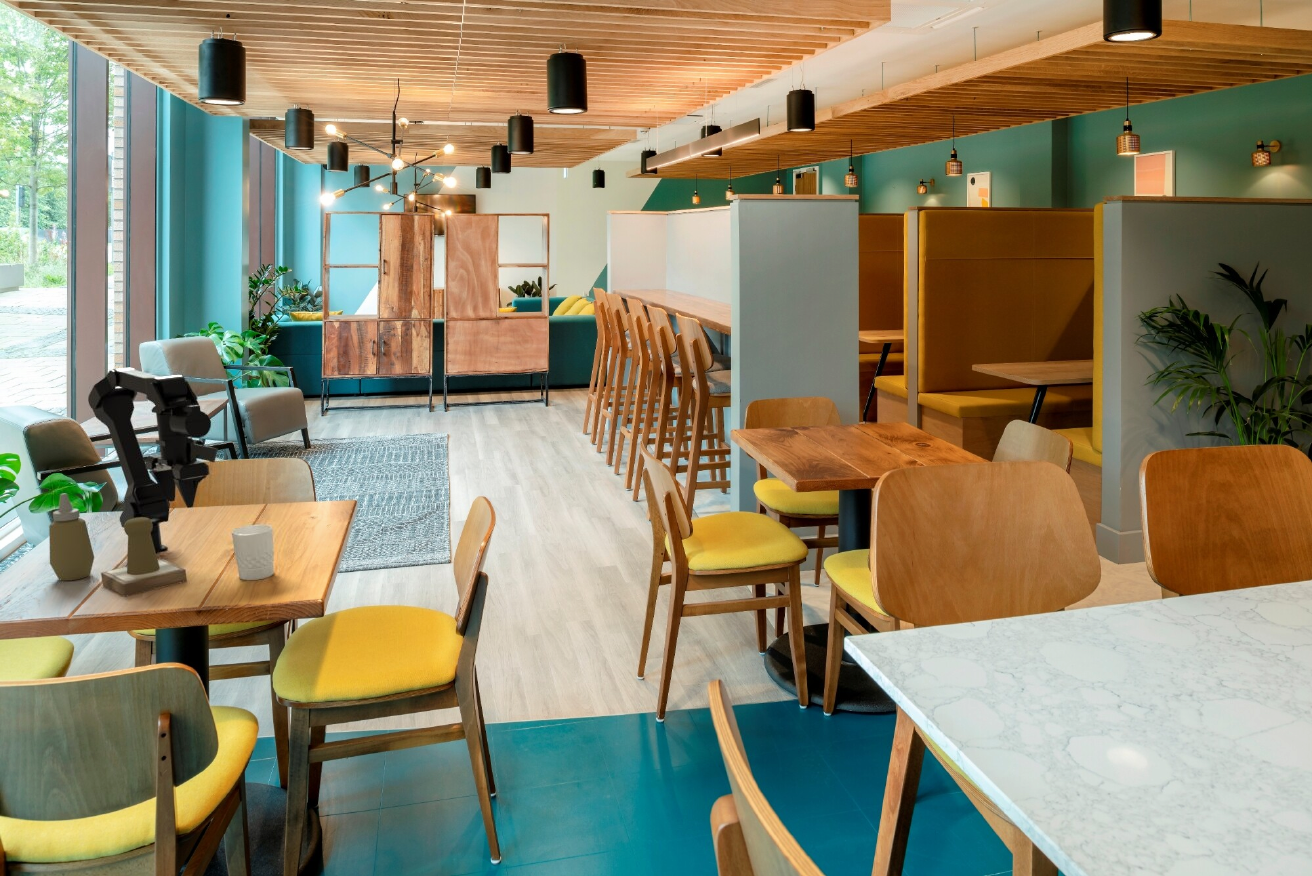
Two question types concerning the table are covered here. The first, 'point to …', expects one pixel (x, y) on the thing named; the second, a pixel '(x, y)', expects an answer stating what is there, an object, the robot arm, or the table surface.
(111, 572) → the walnut picture frame
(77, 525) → the squeeze bottle
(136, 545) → the cork
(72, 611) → the table surface
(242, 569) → the white cup
